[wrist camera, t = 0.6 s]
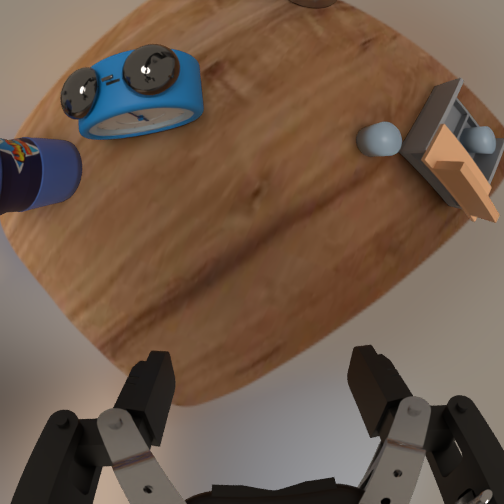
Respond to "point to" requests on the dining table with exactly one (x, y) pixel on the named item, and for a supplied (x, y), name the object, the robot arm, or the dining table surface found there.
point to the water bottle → (37, 173)
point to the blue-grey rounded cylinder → (379, 140)
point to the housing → (456, 119)
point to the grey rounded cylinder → (478, 140)
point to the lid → (460, 175)
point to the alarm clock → (134, 93)
